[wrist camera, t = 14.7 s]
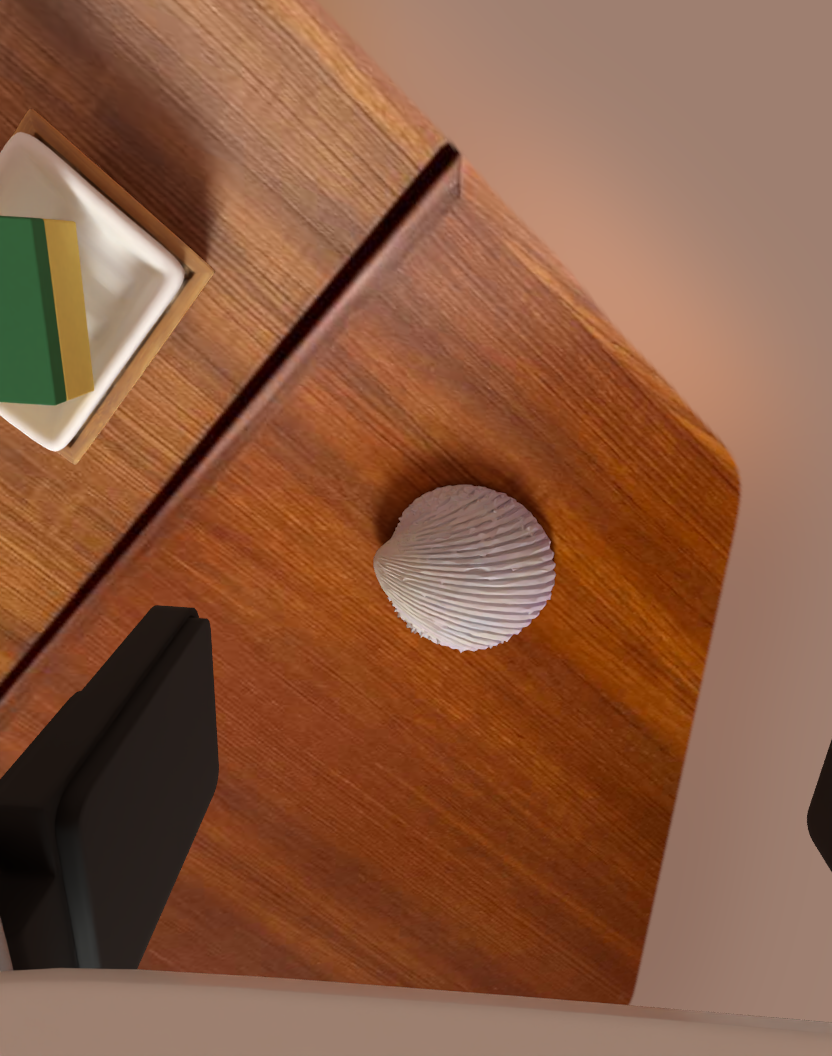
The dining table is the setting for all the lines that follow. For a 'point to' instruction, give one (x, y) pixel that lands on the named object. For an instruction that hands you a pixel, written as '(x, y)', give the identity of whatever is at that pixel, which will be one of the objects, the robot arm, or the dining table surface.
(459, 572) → the seashell
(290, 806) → the dining table surface
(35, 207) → the soap dish
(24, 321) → the scrub sponge
